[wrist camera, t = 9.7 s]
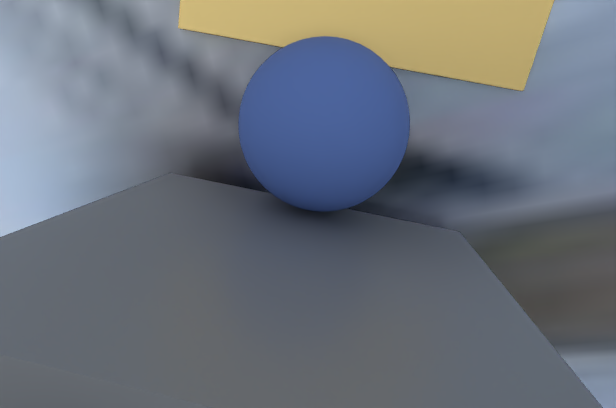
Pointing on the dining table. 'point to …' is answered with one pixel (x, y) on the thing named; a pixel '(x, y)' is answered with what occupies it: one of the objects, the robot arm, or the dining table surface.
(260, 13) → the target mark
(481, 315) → the grey cube
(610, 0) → the dining table surface
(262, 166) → the ball
